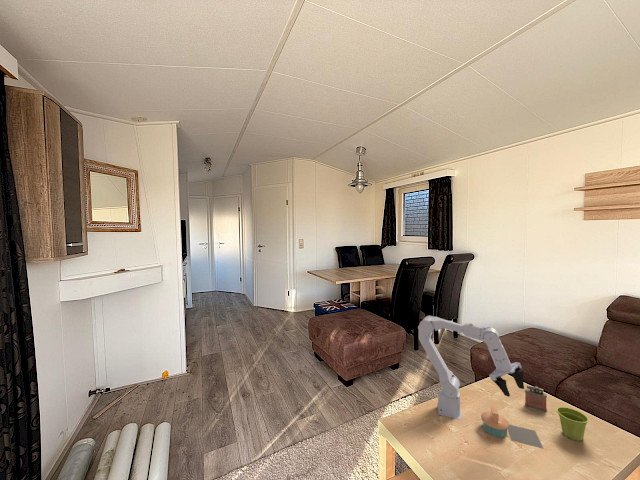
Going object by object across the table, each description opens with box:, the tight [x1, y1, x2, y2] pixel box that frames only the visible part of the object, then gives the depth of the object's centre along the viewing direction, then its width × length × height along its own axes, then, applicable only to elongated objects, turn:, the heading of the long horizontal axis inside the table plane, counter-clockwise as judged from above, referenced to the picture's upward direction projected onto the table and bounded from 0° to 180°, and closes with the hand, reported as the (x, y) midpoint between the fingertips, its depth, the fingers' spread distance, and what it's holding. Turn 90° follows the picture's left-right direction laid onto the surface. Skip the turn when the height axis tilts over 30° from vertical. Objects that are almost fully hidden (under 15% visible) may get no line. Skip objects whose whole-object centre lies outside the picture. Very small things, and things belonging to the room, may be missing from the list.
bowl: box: [482, 421, 508, 438], centre depth 109 cm, size 8×8×4 cm
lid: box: [480, 405, 510, 430], centre depth 109 cm, size 10×10×5 cm
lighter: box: [524, 384, 548, 413], centre depth 123 cm, size 8×3×10 cm, turn 58°
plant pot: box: [556, 406, 590, 442], centre depth 106 cm, size 9×9×9 cm
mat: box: [507, 424, 545, 449], centre depth 106 cm, size 10×10×1 cm
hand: (514, 391), depth 107 cm, fingers open, 7 cm apart
